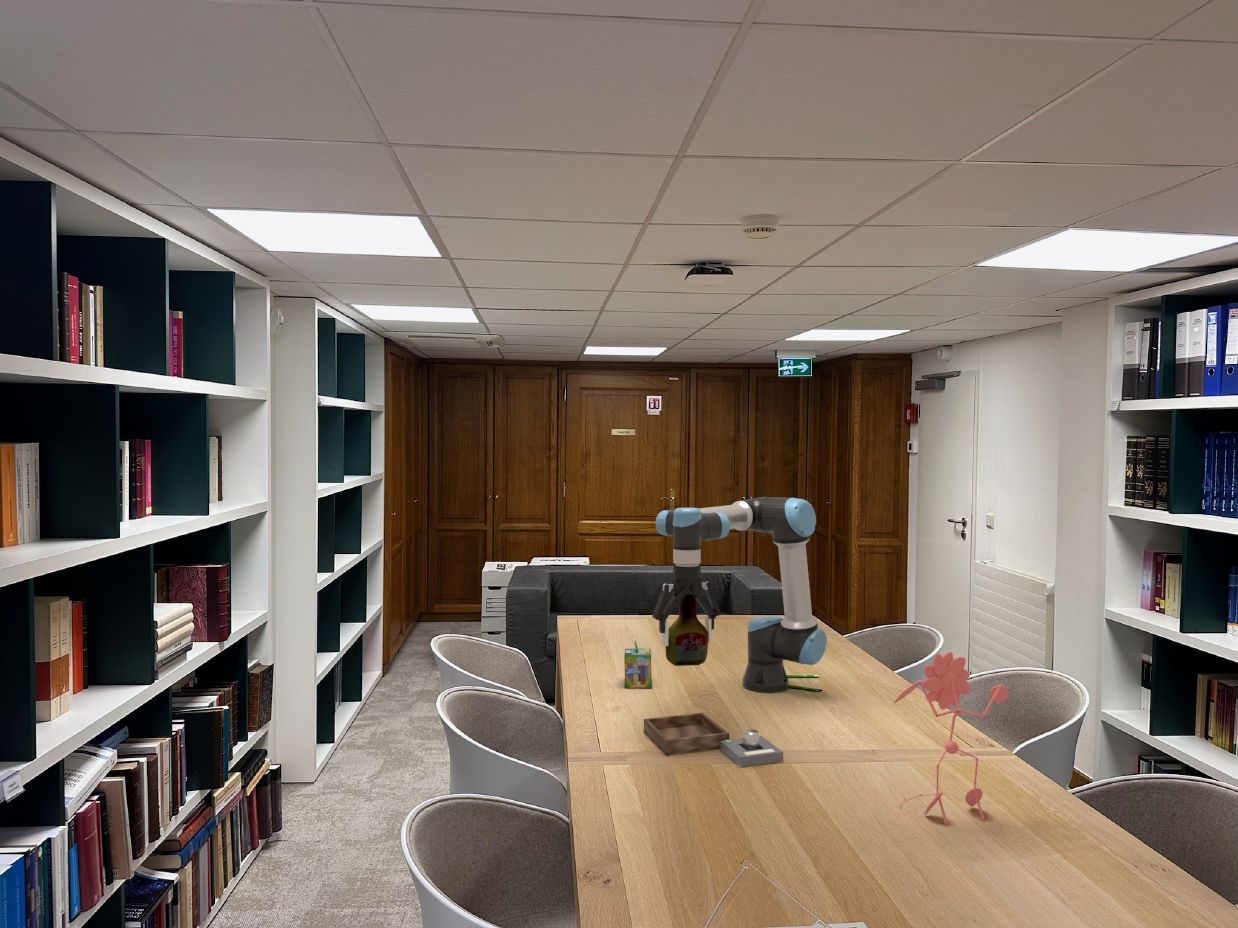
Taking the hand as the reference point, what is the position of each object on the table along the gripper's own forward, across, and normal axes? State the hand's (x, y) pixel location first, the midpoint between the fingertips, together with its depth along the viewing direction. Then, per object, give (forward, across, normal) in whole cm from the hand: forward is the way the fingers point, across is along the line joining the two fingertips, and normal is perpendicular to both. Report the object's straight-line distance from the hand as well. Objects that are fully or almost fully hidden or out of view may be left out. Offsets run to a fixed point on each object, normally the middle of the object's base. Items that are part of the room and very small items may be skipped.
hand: (686, 643), depth 222 cm
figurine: (+27, -38, +57) cm, 74 cm away
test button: (+25, -11, +16) cm, 32 cm away
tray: (+27, 0, 0) cm, 27 cm away
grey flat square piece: (+27, -12, +16) cm, 33 cm away
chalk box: (+27, -4, -53) cm, 60 cm away
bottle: (+6, 0, 0) cm, 6 cm away
